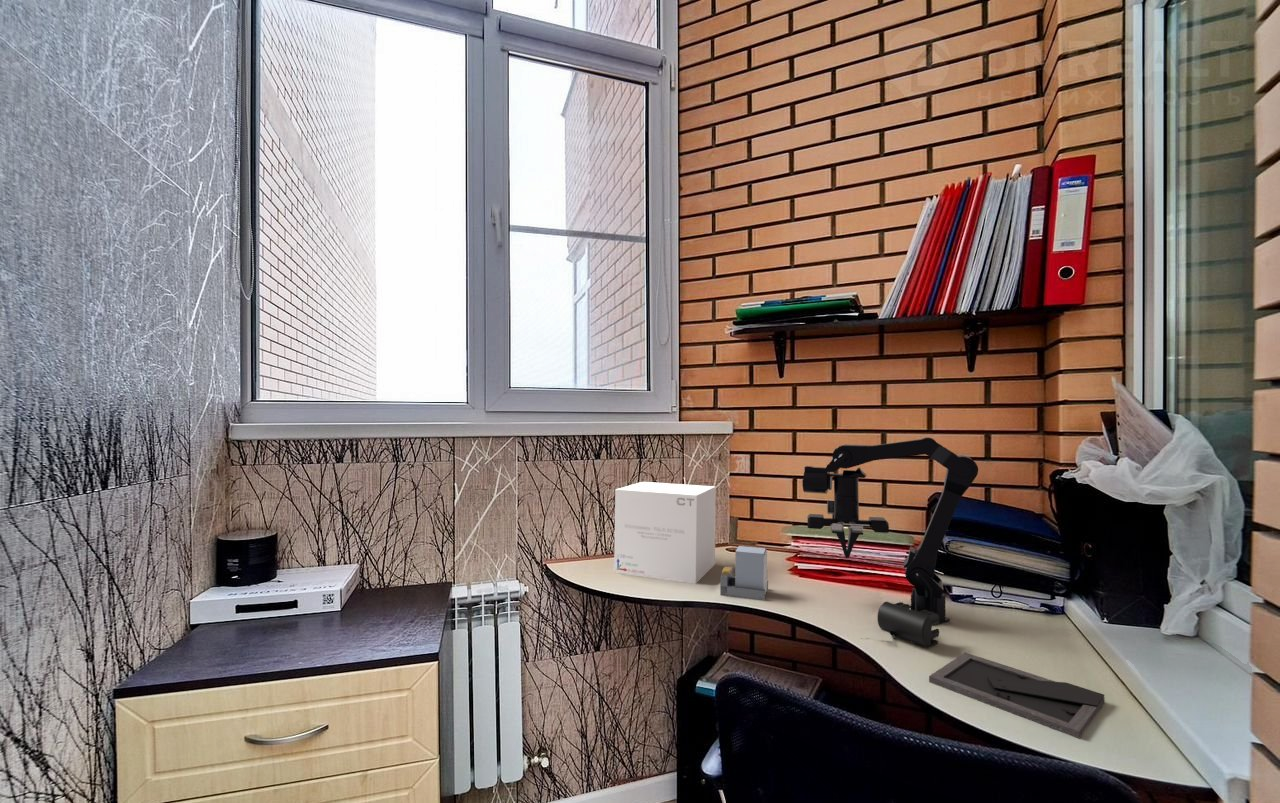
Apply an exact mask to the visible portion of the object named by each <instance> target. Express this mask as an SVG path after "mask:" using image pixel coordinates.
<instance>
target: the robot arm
mask: <svg viewBox="0 0 1280 803" xmlns="http://www.w3.org/2000/svg"><path fill="white" fill-rule="evenodd" d="M922 455H926V456H928V457H929V458H931V459H932V460H934V461H935V462H937V463H938V464H940V465H941V466H942V467H944V468H946V472H945V476H944V477H945V478H944V483H943V489H942V492H941V494H940V496H939V499H938V502H937V504H936V507H935V509H934V511H933V513H932V516H931V518H930V521H929V523H928V526H927V528H926V531H925V533H924V535H923V538H922V540H921V542H920V544H918V546H917V547H916V548H915V547H913V546H910V547H909V551H908V555H907V557H906V558H905V559H904V561H903V568H905V571H904V572H905V573H904V575H905V578H906V580H907V582H908V583H909V584H910V585H911V586H913V587H914V588H912V589H911V590H912V592H911V594H910V605H911V608H910V609H911V610H914V611H922V610H927V611H930V612H934V613H936V614H938V616H939V623H938V624H937V625H939V624H942V623H946V622H950V620H951V618H950V617H948V616H946V594H944V583H943V579H942V578H940V577H939V575H937V573H935V570H936V565H937V558H938V552H939V550H940V548H941V545H942V544H943V541H944V538H945V536H946V533H947V531H948V528H949V526H950V524H951V522H952V518H953V517H954V514H955V512H956V510H957V507H958V505H959V502H960V500H961V498H962V497H963V495H964V494H965V493H966V492H967V491H968V489H969V488H970V487H971V486H972V483H973V482H974V481H975V479H976V477H977V476H978V474H979V467H978V466H979V465H977V463H976V462H975V461H974V460H973V459H972V458H971V457H969V456H967V455H963V454H960V455H958V454H956V453H954V452H953V451H951V450H949V449H948V448H947V447H945V446H943V445H942V444H940V443H939V442H937V441H936V440H935V439H934V438H932V437H929V436H928V437H923V438H921V439H911V440H904V441H897V442H890V443H881V444H874V445H871V444H870V445H869V444H868V445H867V444H843V445H839V446H837V447H836V448H835V449H834V450H833V452H832V456H831V458H832V460H831V461H830V462H829V463H828V464H826V467H824V466H823V467H822V466H821V467H820V466H819V467H818V466H817V467H816V466H813V465H812V466H811V465H806V466H804V470H803V471H804V473H803V477H802V480H801V482H802V490H803V493H809V494H826V495H827V494H828V493H829V492H828V491H832V490H833V493H834V494H833V499H834V500H827V501H826V502H827V503H826V505H827V507H826V510H827V512H826V513H827V514H828V515H833V518H832V517H830V518H829V517H828V518H827V517H825V515H824V514H816V513H809V514H808V515H807V518H806V519H807V529H811V530H812V529H813V530H814V529H815V530H822V528H824V527H827V526H828V527H830V531H831V534H835V535H836V537H837V539H838V540H839V543H840V545H841V548H842V551H843V554H844V557H845V559H850V557H851V554H852V551H853V548H854V545H855V544H856V542H857V539H858V538H859V537H860V536H863V535H864V532H863V530H864V529H865V528H866V529H871V530H872V531H874V533H880V534H881V533H884V534H885V533H886V534H887V533H890V524H889V522H888V521H887V520H886V518H885V517H879V516H869V517H868V519H866V520H865V519H860V515H859V514H860V513H859V512H860V511H859V509H860V508H859V507H860V505H859V504H860V503H859V479H865V478H866V477H867V475H868V474H867V473H865V472H864V471H863V469H862V468H861V467H858V466H861V465H864V464H867V463H871V462H873V461H874V462H875V461H880V460H881V461H882V460H887V459H889V460H890V459H897V458H898V459H899V458H905V457H914V456H922ZM856 466H857V467H858V468H857V469H855V470H853V469H852V470H851V468H853V467H856ZM840 469H844V470H842V473H835V472H836V471H838V470H840ZM848 469H849V470H848ZM845 527H848V536H847V537H848V539H847V541H846V535H845V531H844V528H845Z"/></svg>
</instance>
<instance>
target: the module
mask: <svg viewBox="0 0 1280 803" xmlns="http://www.w3.org/2000/svg"><path fill="white" fill-rule="evenodd" d="M734 562H735V564H734V566H735V569H734V571H735V573H734V575H735V576H734V577H735V586H736V587H745V588H754V589H763V590H765V595H766V594H767V591H768V590H767V580H768V550H767V549H766V548H764V547H755V546H745V545H738V547H737V548H736V549H735V561H734Z"/></svg>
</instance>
